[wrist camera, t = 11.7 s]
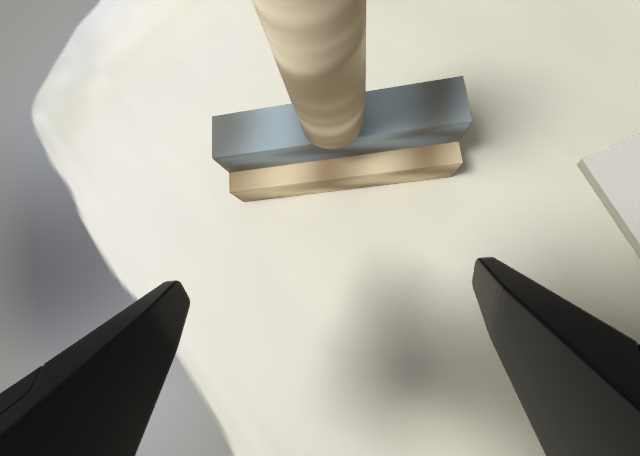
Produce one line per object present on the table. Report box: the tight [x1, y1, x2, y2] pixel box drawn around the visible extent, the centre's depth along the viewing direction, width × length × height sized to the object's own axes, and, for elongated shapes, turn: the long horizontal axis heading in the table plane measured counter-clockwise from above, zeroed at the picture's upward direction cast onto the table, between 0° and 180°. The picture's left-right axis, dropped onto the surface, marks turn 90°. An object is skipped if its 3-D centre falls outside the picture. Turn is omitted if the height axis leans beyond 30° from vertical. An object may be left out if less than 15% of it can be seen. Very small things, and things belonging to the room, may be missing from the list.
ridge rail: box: [212, 76, 472, 202], centre depth 21 cm, size 16×6×5 cm, turn 95°
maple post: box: [252, 0, 366, 149], centre depth 12 cm, size 4×4×13 cm
